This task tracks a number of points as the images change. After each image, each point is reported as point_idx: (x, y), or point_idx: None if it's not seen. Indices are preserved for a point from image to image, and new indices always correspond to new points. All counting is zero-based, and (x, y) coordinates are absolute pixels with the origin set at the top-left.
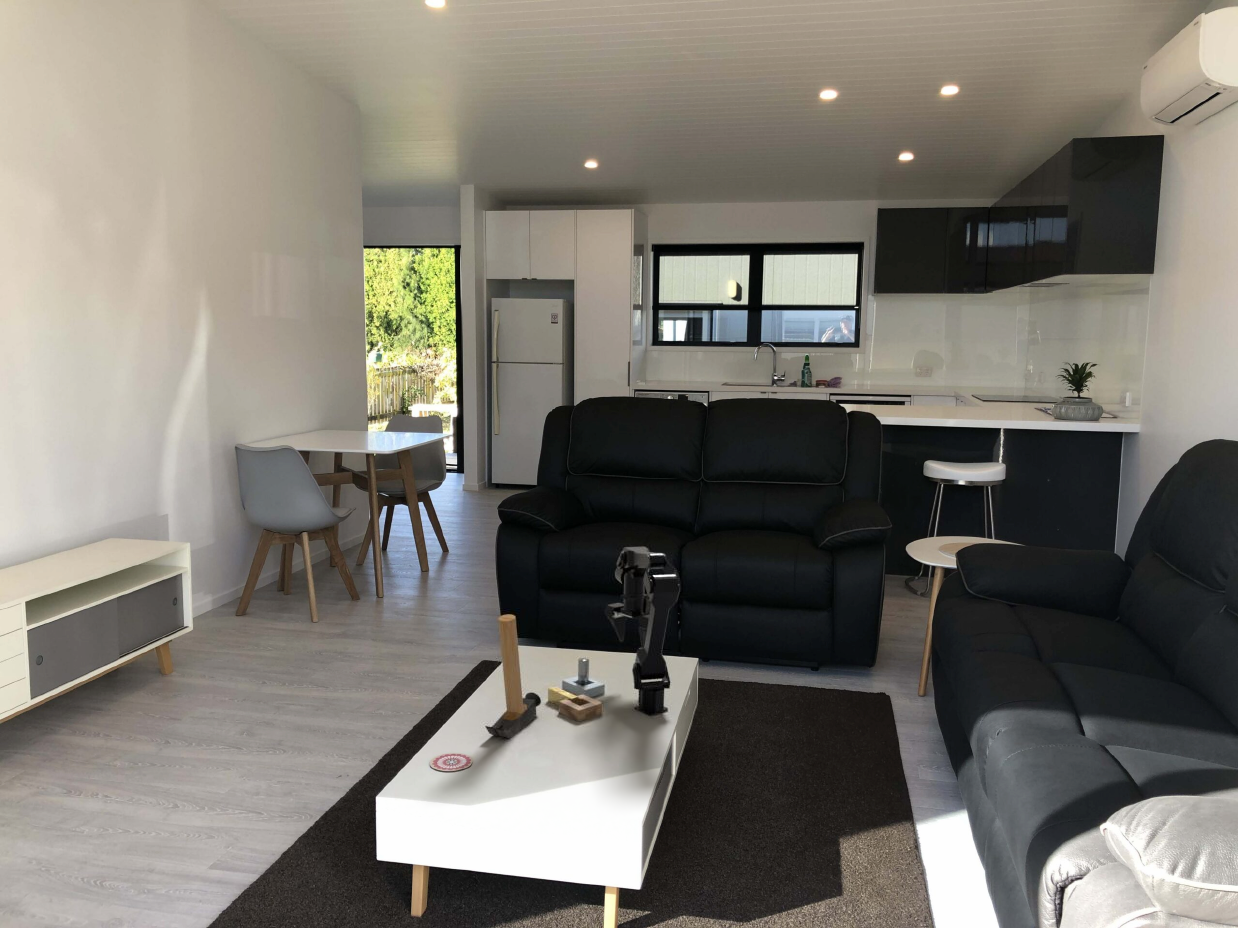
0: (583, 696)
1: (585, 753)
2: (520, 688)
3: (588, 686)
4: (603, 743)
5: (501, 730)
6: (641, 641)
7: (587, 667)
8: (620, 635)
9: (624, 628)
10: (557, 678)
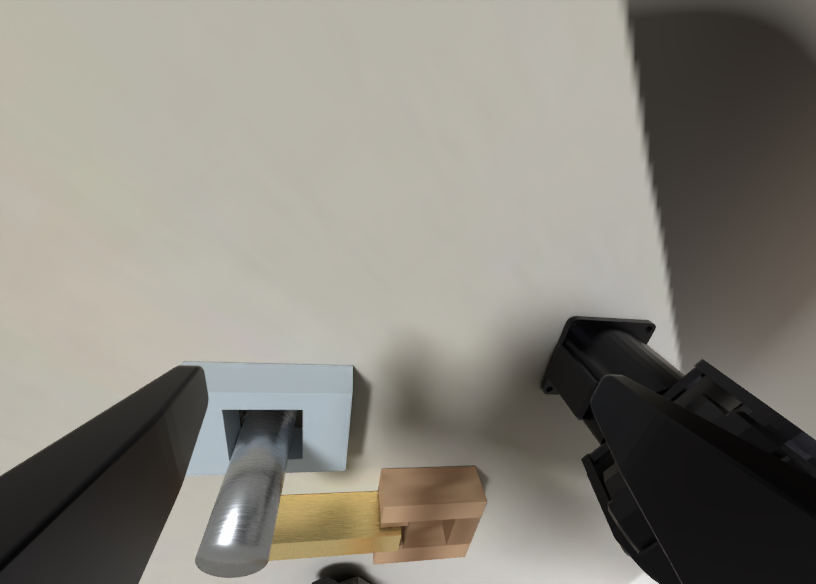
0: (400, 511)
1: (563, 566)
2: None
3: (323, 446)
4: (572, 533)
5: None
6: (669, 533)
7: (277, 512)
8: (165, 497)
9: (23, 566)
10: (54, 394)
